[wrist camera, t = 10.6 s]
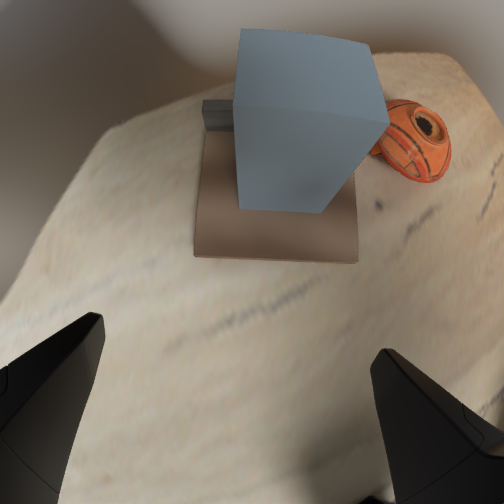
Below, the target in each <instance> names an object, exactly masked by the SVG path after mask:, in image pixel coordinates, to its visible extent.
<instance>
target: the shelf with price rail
mask: <svg viewBox="0 0 504 504" xmlns="http://www.w3.org/2000/svg"><path fill="white" fill-rule="evenodd" d="M202 113H203V118H204V122H205V127H206V138H205V145H204V153H203V161H202V170H201V179H200V188H199V197H198V207H197V218H196V229H195V241H194V254H193V255H194V256H195V257H205V258H227V259H249V260H272V261H296V262H321V263H347V264H355V263H357V262H358V228H357V209H356V194H355V181H354V172H353V173H352V174H351V176H350V177H349V178H348V179H347V181H346V182H345V183H344V185H343V186H342V187H341V188H340V190H339V191H338V192H337V193H336V195H335V196H334V197H333V199H332V200H331V201H330V202H329V204H328V205H327V206H326V207H325V209H324V210H323V211H322V212H321V214H319V213H303V212H286V211H267V210H245V209H239V199H238V183H237V168H236V152H235V136H234V120H233V100H203V106H202Z"/></svg>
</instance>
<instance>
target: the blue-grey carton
mask: <svg viewBox="0 0 504 504" xmlns="http://www.w3.org/2000/svg"><path fill="white" fill-rule="evenodd" d="M233 120H234V136H235V152H236V168H237V183H238V199H239V209H245V210H267V211H286V212H303V213H319V214H321V212H322V211H323V210H324V209H325V207H326V206H327V205H328V204H329V202H330V201H331V200H332V199H333V197H334V196H335V195H336V193H337V192H338V191H339V190H340V188H341V187H342V186H343V185H344V183H345V182H346V181H347V179H348V178H349V177H350V176H351V174H352V173H353V172H354V170H355V169H356V168H357V167H358V165H359V164H360V163H361V161H362V160H363V159H364V158H365V156H366V155H367V154H368V152H369V151H370V150H371V148H372V147H373V146H374V144H375V143H376V142H377V141H378V139H379V138H380V137H381V135H382V134H383V133H384V131H385V130H386V129H387V127H388V126H389V125H390V120H389V116H388V112H387V107H386V103H385V99H384V96H383V92H382V88H381V85H380V81H379V78H378V74H377V71H376V68H375V64H374V61H373V58H372V55H371V52H370V49H369V47H368V45H367V44H363V43H358V42H354V41H349V40H345V39H340V38H334V37H328V36H322V35H315V34H308V33H300V32H291V31H279V30H265V29H241V34H240V43H239V52H238V60H237V69H236V78H235V88H234V97H233Z"/></svg>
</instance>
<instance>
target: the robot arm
mask: <svg viewBox="0 0 504 504" xmlns="http://www.w3.org/2000/svg"><path fill="white" fill-rule="evenodd" d="M104 342H105V328H104V320H103V316H102V315H101V314H98V313H94V312H88V313H87V314H85V315H84V316H82V317H80V318H79V319H77V320H76V321H74V322H72V323H71V324H69V325H68V326H66V327H64V328H63V329H61V330H60V331H58V332H57V333H55V334H53V335H52V336H50V337H49V338H47V339H46V340H44V341H43V342H41V343H40V344H38V345H36V346H35V347H33V348H32V349H30V350H29V351H27V352H26V353H24V354H23V355H21V356H20V357H18V358H17V359H15V360H14V361H12V362H11V363H9V364H8V366H5V367H3V368H2V369H0V504H57V503H58V499H59V494H60V490H61V486H62V482H63V478H64V474H65V470H66V466H67V463H68V459H69V456H70V452H71V449H72V446H73V442H74V439H75V436H76V433H77V430H78V427H79V424H80V421H81V418H82V415H83V412H84V409H85V406H86V403H87V400H88V398H89V395H90V392H91V389H92V387H93V384H94V380H95V376H96V372H97V368H98V364H99V361H100V357H101V353H102V350H103V346H104ZM370 373H371V379H372V385H373V391H374V398H375V405H376V410H377V414H378V418H379V422H380V427H381V431H382V435H383V440H384V444H385V449H386V453H387V458H388V463H389V468H390V473H391V478H392V484H393V489H394V495H395V501H396V504H504V433H503V432H502V431H500V430H499V429H497V428H496V427H494V426H493V425H491V424H490V423H488V422H487V421H485V420H484V419H483V418H481V417H480V416H478V415H477V414H476V413H474V412H473V411H472V410H470V409H469V408H468V407H467V406H465V405H464V404H463V403H461V402H460V401H459V400H458V399H456V398H455V397H454V396H453V395H451V394H450V393H449V392H447V391H446V390H445V389H444V388H442V387H441V386H440V385H438V384H437V383H436V382H435V381H433V380H432V379H431V378H430V377H428V376H427V375H426V374H424V373H423V372H422V371H421V370H419V369H418V368H417V367H415V366H414V365H413V364H412V363H410V362H409V361H408V360H406V359H405V358H404V357H403V356H401V355H400V354H399V353H397V352H396V351H395V350H394V349H391V348H384V349H381V350H380V351H379V353H378V355H377V356H376V358H375V360H374V361H373V363H372V364H371V368H370ZM370 500H371V501H370ZM360 504H387V503H385V502H383V501H382V500H380V499H378V498H376V497H375V496H369V497H368V498H366V499H365V500H364V501H363V502H361V503H360Z"/></svg>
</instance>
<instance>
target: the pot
mask: <svg viewBox="0 0 504 504" xmlns="http://www.w3.org/2000/svg"><path fill="white" fill-rule="evenodd" d="M385 103H386V107H387V112H388V116H389V120H390V125H389V126H388V127H387V129H386V130H385V131H384V133H383V134H382V135H381V137H380V138H379V139H378V141H377V142H376V143H375V144H374V146H373V147H372V148H371V150H370V151H369V152H370V154H371V155H375V154H377V153H380V152H381V153H382V155H383V156H384V157H385V159H386V160H387V162H388V163H389V164H390V165H391V166H392V167H393V168H394V169H395V170H397V171H398V172H399V173H401V174H402V175H404V176H405V177H407V178H409V179H411V180H414V181H417V182H423V183H431V182H435V181H437V180H439V179H440V178H441V177H442V176H443V175H444V174H445V172H446V171H447V169H448V167H449V164H450V161H451V143H450V139H449V135H448V132H447V128H446V126H445V124H444V122H443V121H442V119H441V118H440V117H439V116H438V115H437V114H436V113H435V112H433V111H431V110H429V109H427V108H426V107H424V106H422V105H420V104H418V103H416V102H413V101H410V100H403V99H396V100H390V101H387V102H385Z"/></svg>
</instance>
